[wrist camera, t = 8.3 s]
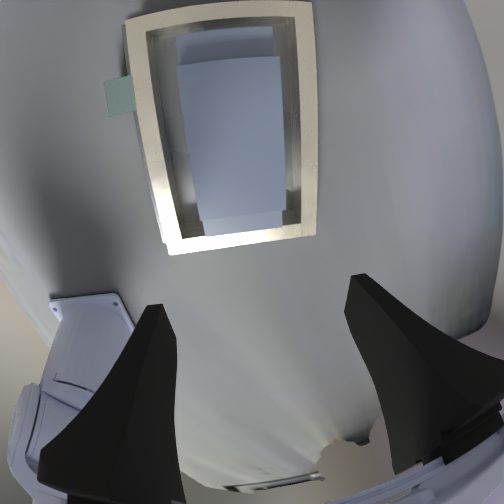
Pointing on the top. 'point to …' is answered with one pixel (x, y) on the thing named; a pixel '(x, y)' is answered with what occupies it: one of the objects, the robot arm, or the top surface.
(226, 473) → the top surface
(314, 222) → the frame
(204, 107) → the block
